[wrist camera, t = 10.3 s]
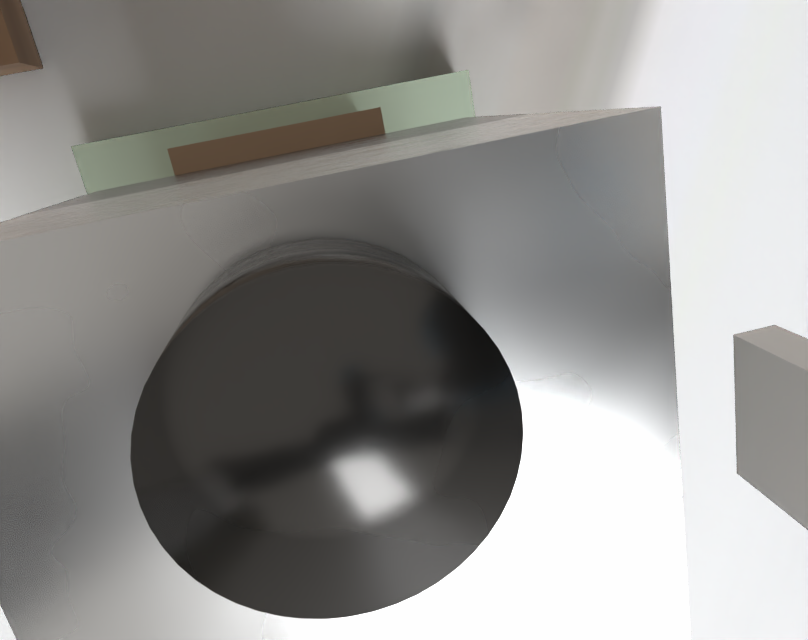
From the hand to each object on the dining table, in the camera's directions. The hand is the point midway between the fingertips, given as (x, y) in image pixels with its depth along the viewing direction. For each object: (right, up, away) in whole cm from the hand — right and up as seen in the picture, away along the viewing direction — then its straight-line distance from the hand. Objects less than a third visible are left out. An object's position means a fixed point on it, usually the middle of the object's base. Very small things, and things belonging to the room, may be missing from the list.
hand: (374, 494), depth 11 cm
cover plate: (0, 0, 0) cm, 0 cm away
